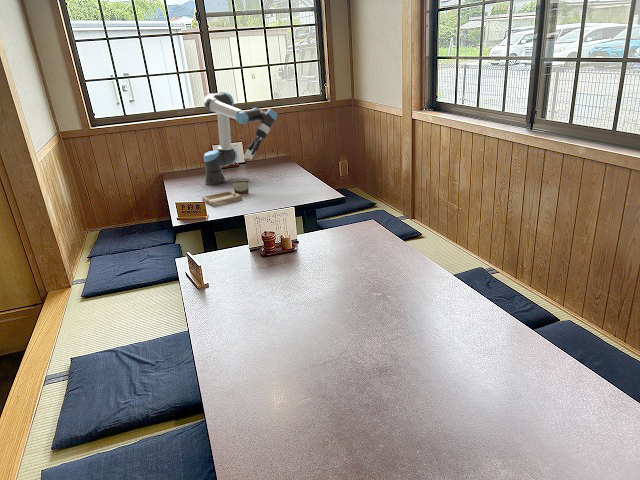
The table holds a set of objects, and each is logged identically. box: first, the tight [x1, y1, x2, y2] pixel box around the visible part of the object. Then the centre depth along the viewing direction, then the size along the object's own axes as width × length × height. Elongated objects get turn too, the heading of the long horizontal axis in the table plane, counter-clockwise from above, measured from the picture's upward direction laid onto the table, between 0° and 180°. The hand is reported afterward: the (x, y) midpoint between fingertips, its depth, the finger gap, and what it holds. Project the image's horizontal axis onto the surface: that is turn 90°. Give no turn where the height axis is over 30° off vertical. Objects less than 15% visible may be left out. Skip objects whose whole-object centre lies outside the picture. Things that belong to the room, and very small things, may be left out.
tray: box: [201, 190, 243, 208], centre depth 317 cm, size 18×20×3 cm
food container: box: [231, 177, 250, 196], centre depth 329 cm, size 12×6×10 cm, turn 84°
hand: (247, 158), depth 326 cm, fingers open, 13 cm apart
